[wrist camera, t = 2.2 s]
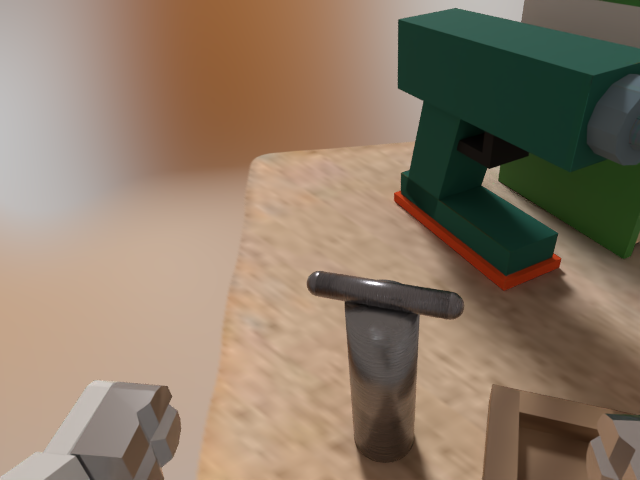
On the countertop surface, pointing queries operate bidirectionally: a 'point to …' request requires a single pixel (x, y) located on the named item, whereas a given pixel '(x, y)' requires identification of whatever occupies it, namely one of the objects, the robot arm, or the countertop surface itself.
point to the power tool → (507, 126)
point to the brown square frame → (538, 436)
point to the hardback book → (598, 179)
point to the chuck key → (383, 354)
